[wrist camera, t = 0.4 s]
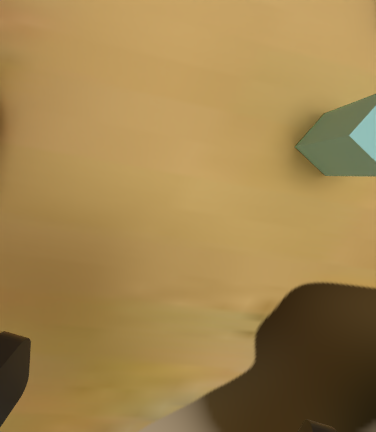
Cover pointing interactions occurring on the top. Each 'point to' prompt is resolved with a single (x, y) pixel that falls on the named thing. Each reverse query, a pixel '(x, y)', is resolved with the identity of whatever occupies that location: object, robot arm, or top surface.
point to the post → (344, 140)
